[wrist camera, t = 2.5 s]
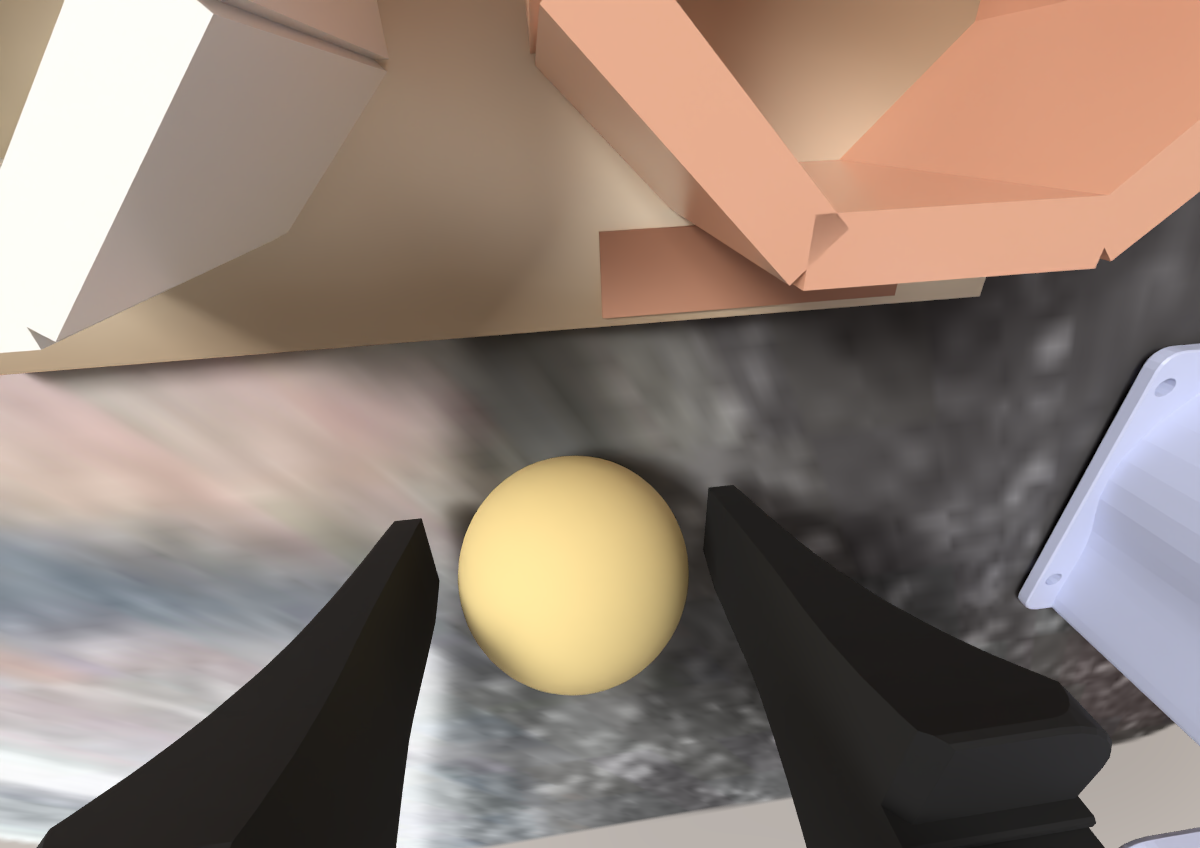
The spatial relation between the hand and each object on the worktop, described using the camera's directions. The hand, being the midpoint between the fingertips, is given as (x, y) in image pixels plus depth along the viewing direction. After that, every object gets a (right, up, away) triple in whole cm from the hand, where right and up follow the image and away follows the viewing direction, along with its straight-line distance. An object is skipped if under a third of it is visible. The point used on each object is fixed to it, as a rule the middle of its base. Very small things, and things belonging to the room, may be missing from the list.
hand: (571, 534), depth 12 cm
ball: (0, -1, -1) cm, 1 cm away
